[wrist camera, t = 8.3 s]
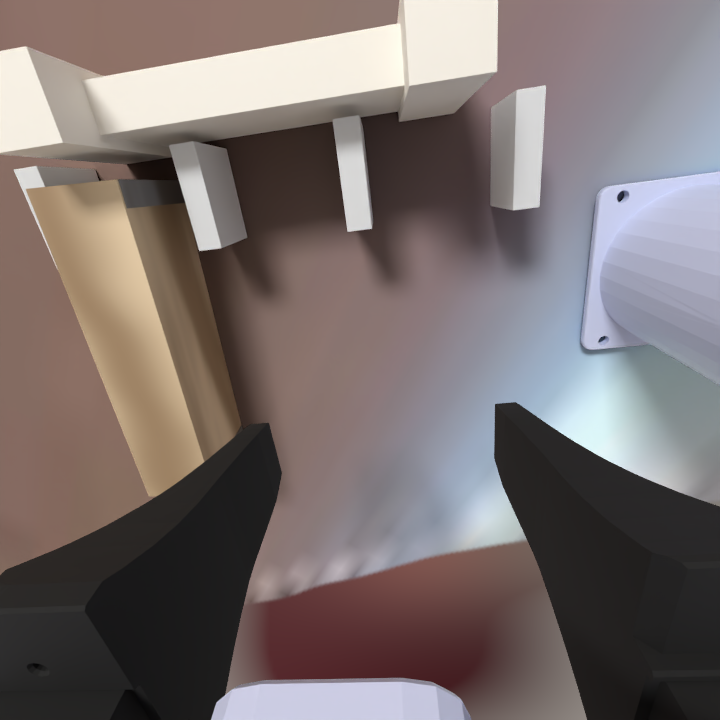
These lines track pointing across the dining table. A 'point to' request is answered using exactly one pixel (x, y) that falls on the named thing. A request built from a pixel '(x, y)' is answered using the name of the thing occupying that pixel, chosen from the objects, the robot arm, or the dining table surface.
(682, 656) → the robot arm
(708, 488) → the dining table surface
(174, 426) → the rail
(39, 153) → the white comb rack
